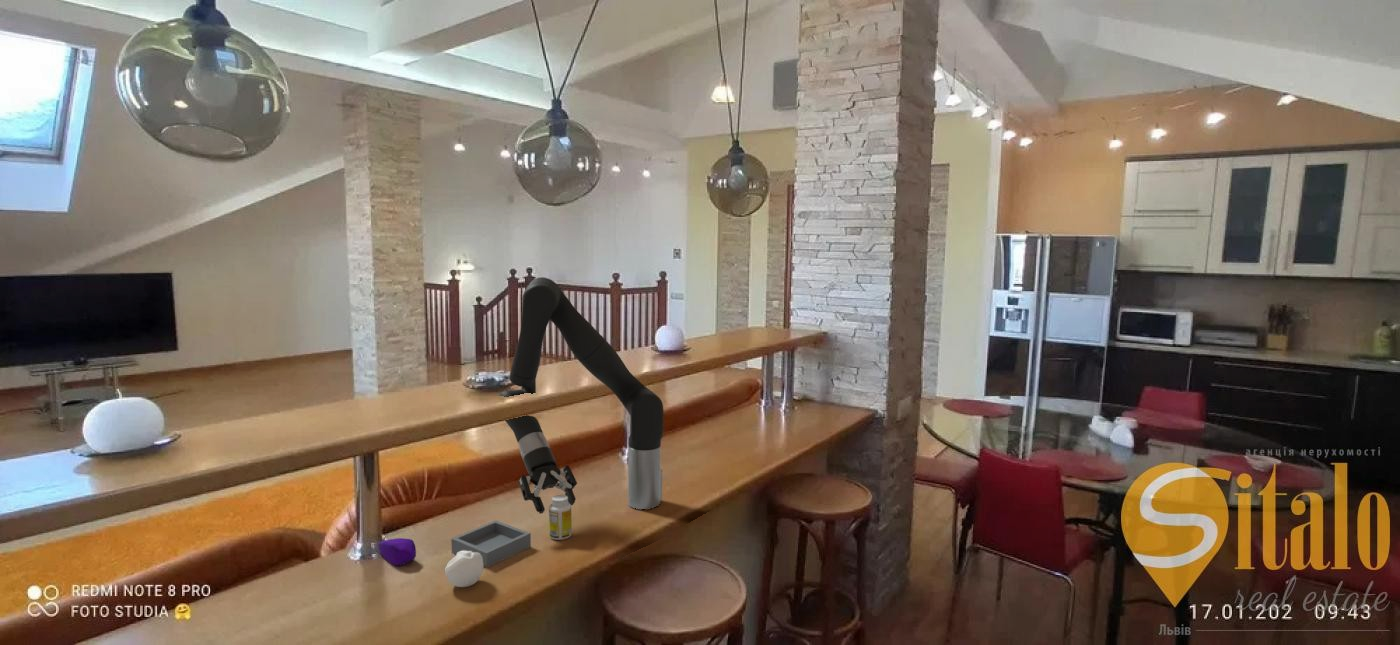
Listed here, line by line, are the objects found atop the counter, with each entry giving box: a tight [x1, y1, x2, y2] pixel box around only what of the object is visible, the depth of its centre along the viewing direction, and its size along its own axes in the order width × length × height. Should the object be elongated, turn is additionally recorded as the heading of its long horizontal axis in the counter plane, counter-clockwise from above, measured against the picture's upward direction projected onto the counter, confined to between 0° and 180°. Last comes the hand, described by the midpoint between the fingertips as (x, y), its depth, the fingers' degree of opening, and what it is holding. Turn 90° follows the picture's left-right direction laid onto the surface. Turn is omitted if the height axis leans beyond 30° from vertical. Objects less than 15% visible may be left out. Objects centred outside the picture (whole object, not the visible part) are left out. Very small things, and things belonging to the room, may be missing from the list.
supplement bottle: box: [548, 494, 573, 541], centre depth 165 cm, size 6×6×10 cm
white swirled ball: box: [444, 551, 484, 588], centre depth 140 cm, size 8×8×8 cm
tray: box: [450, 519, 532, 568], centre depth 157 cm, size 13×13×4 cm
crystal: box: [377, 537, 417, 567], centre depth 152 cm, size 5×5×15 cm
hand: (557, 508), depth 165 cm, fingers open, 8 cm apart
